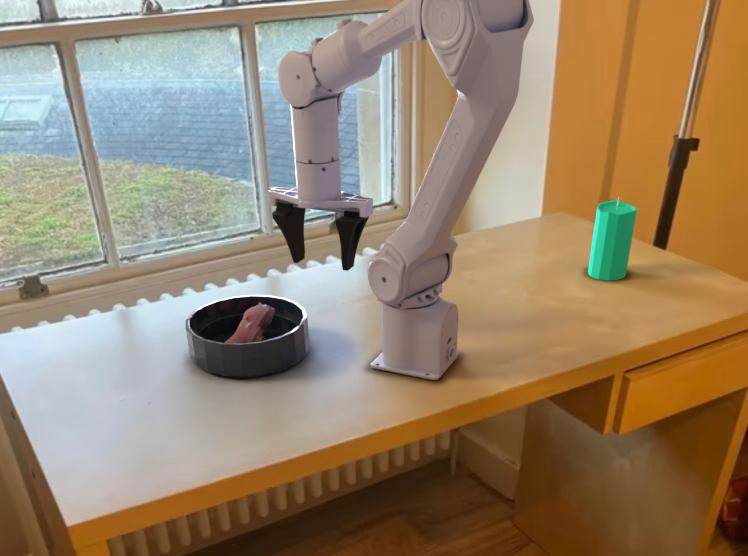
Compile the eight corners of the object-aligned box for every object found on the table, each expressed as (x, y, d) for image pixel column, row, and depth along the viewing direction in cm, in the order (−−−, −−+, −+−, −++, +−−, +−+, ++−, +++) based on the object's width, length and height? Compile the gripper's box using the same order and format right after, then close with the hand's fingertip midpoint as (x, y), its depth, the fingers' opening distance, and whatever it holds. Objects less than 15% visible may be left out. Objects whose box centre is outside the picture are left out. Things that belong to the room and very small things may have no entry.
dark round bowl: (329, 339, 112) (327, 305, 109) (270, 390, 101) (266, 353, 98) (233, 321, 118) (229, 288, 115) (167, 367, 107) (160, 332, 104)
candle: (586, 266, 132) (597, 190, 125) (623, 267, 131) (636, 191, 124) (589, 280, 127) (600, 202, 120) (628, 281, 126) (641, 202, 119)
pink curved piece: (244, 376, 106) (262, 333, 102) (213, 359, 105) (229, 316, 101) (267, 343, 114) (285, 303, 109) (238, 328, 113) (255, 286, 109)
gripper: (251, 161, 101) (262, 266, 109) (354, 171, 96) (358, 281, 104) (279, 148, 106) (288, 250, 114) (379, 157, 101) (380, 263, 109)
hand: (323, 264), depth 109 cm, fingers open, 7 cm apart
